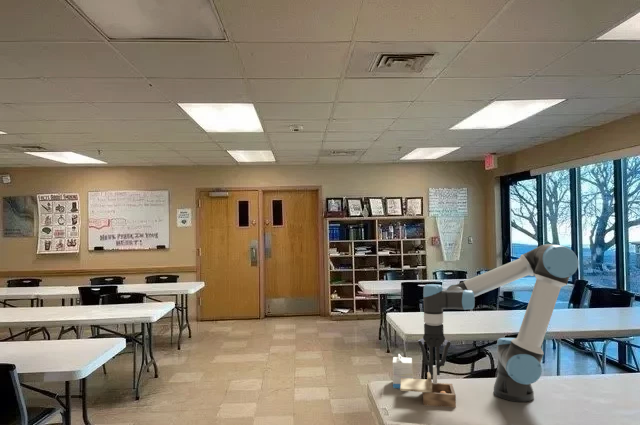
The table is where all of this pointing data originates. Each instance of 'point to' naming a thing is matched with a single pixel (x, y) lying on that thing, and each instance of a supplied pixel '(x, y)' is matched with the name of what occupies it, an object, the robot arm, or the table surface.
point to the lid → (417, 384)
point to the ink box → (401, 370)
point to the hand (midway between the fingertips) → (435, 382)
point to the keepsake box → (440, 395)
